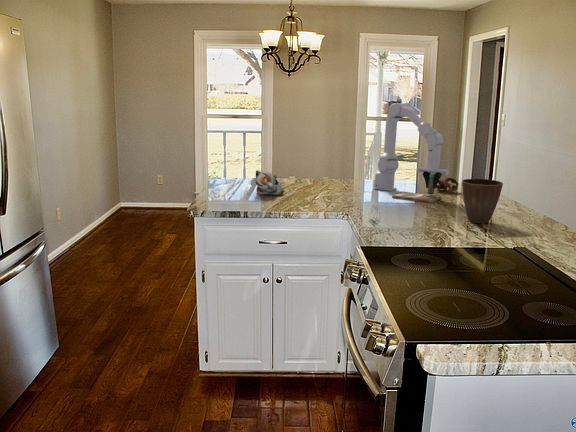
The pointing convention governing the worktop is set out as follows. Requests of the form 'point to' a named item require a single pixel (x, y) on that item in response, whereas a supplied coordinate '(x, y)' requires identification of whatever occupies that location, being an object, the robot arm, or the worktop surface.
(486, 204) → the plant pot
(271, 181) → the grey piece
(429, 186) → the marker
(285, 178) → the worktop surface
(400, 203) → the worktop surface
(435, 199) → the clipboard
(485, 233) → the worktop surface
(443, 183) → the reddish-brown lumpy part
